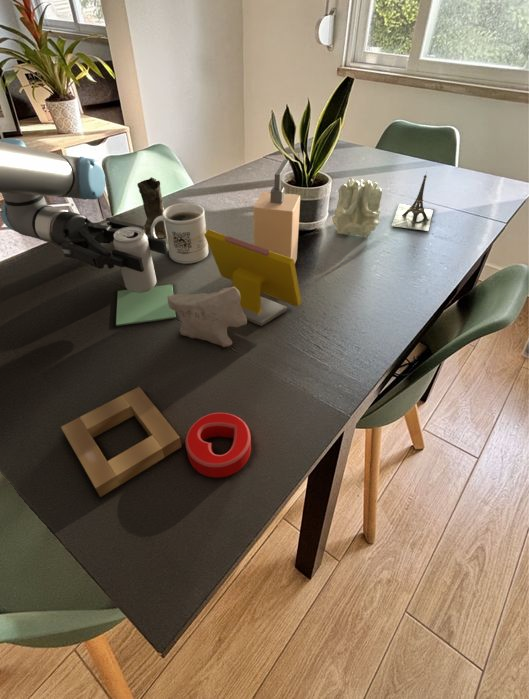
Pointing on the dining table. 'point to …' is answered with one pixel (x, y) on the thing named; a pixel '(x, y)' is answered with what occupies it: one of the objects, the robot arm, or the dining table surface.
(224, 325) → the sculpture
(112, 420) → the can stand
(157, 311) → the mat
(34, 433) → the dining table surface
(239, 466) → the decorative ornament
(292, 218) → the soap dispenser
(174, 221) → the mug
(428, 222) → the eiffel tower figurine
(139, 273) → the beverage can
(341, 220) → the wavy plaster lump
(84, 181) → the robot arm
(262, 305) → the yellow framed monitor
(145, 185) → the tree stump
